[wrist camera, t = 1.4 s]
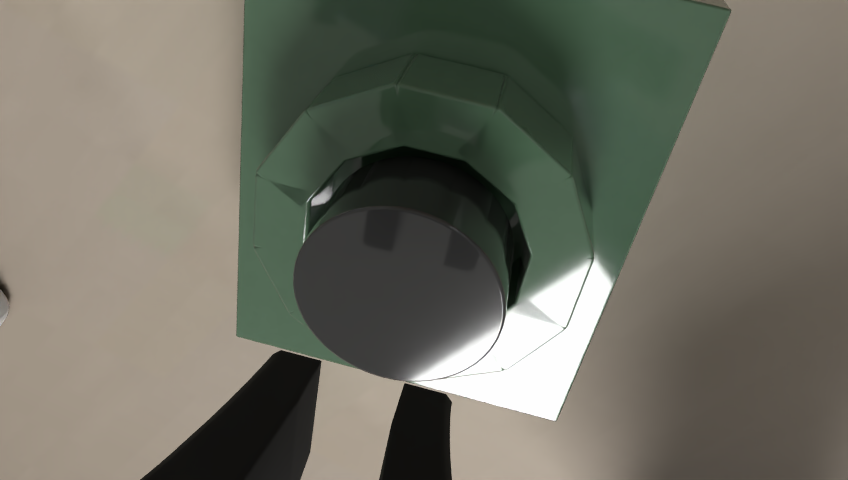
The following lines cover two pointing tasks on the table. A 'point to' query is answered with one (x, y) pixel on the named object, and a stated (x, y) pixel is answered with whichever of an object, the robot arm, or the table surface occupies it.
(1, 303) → the eye dropper bottle
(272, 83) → the green button base
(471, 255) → the black push button
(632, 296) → the table surface
